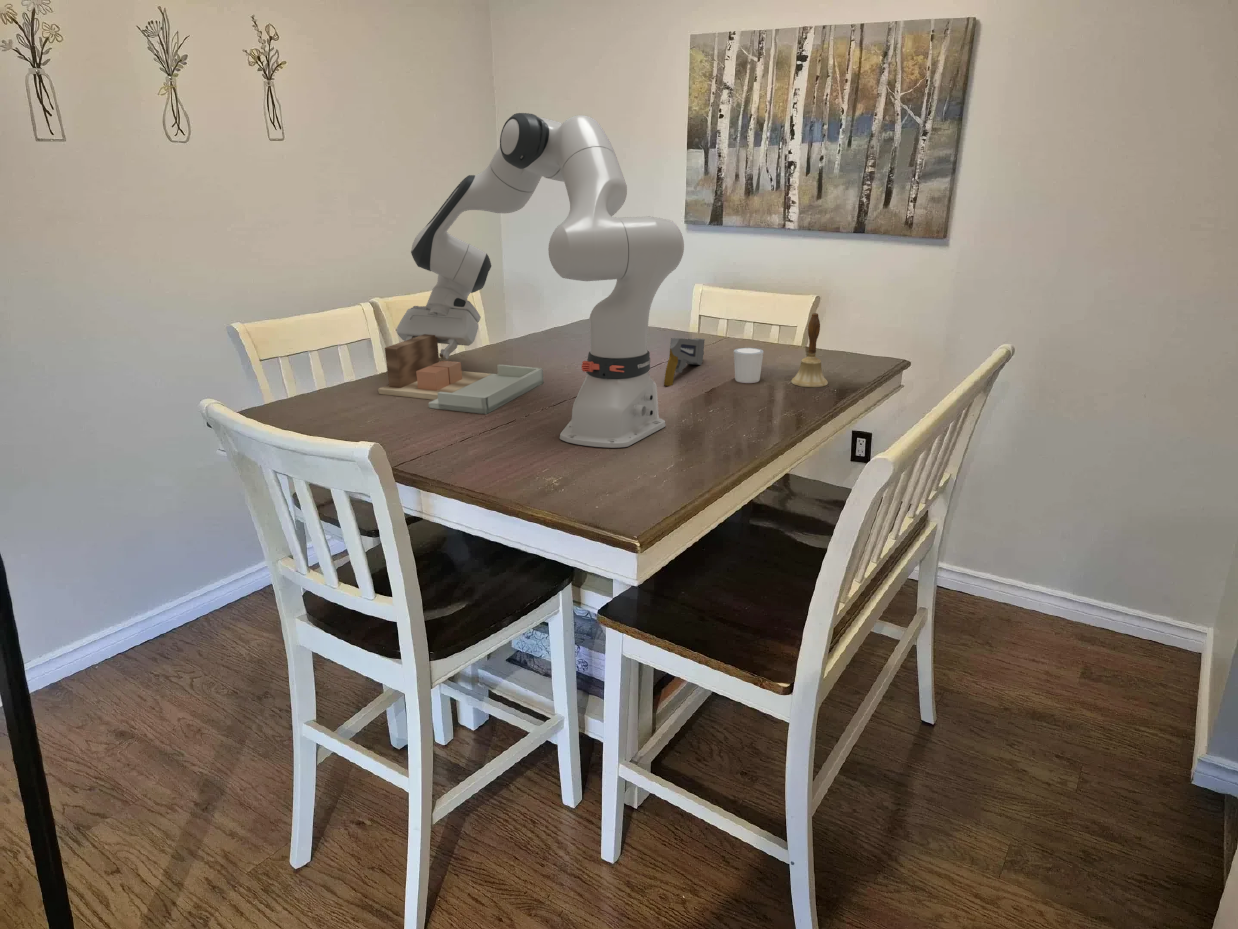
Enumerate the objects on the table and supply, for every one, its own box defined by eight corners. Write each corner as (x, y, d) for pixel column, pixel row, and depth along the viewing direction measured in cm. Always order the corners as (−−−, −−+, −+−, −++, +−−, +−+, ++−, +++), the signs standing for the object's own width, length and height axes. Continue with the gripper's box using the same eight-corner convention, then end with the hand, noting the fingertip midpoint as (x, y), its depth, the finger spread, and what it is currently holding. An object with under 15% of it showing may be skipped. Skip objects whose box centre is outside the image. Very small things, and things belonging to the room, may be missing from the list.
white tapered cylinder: (763, 377, 196) (765, 347, 193) (760, 384, 190) (761, 354, 187) (734, 375, 198) (735, 346, 195) (730, 382, 191) (731, 352, 189)
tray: (486, 414, 171) (485, 397, 170) (428, 407, 176) (427, 391, 175) (543, 382, 194) (542, 368, 192) (491, 377, 199) (490, 363, 197)
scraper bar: (400, 388, 187) (395, 348, 183) (389, 387, 188) (384, 347, 184) (440, 371, 200) (436, 334, 197) (429, 370, 201) (426, 333, 198)
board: (445, 401, 181) (444, 395, 180) (378, 393, 187) (378, 388, 186) (491, 378, 198) (491, 373, 198) (429, 372, 204) (429, 367, 204)
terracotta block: (436, 390, 184) (435, 372, 183) (417, 388, 186) (416, 371, 185) (449, 384, 189) (447, 367, 187) (430, 383, 190) (429, 366, 189)
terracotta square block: (450, 384, 189) (449, 367, 188) (431, 382, 191) (430, 365, 189) (462, 379, 193) (460, 362, 192) (444, 377, 195) (442, 360, 194)
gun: (699, 398, 211) (707, 339, 211) (671, 385, 188) (679, 319, 187) (687, 397, 212) (695, 338, 212) (657, 384, 189) (666, 318, 189)
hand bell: (831, 380, 192) (836, 311, 187) (823, 389, 185) (829, 317, 180) (795, 376, 196) (800, 309, 190) (787, 385, 189) (791, 315, 183)
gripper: (403, 298, 203) (383, 346, 198) (475, 302, 196) (456, 352, 191) (415, 313, 208) (396, 360, 203) (486, 317, 201) (468, 366, 196)
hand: (426, 356), depth 197 cm, fingers open, 8 cm apart
